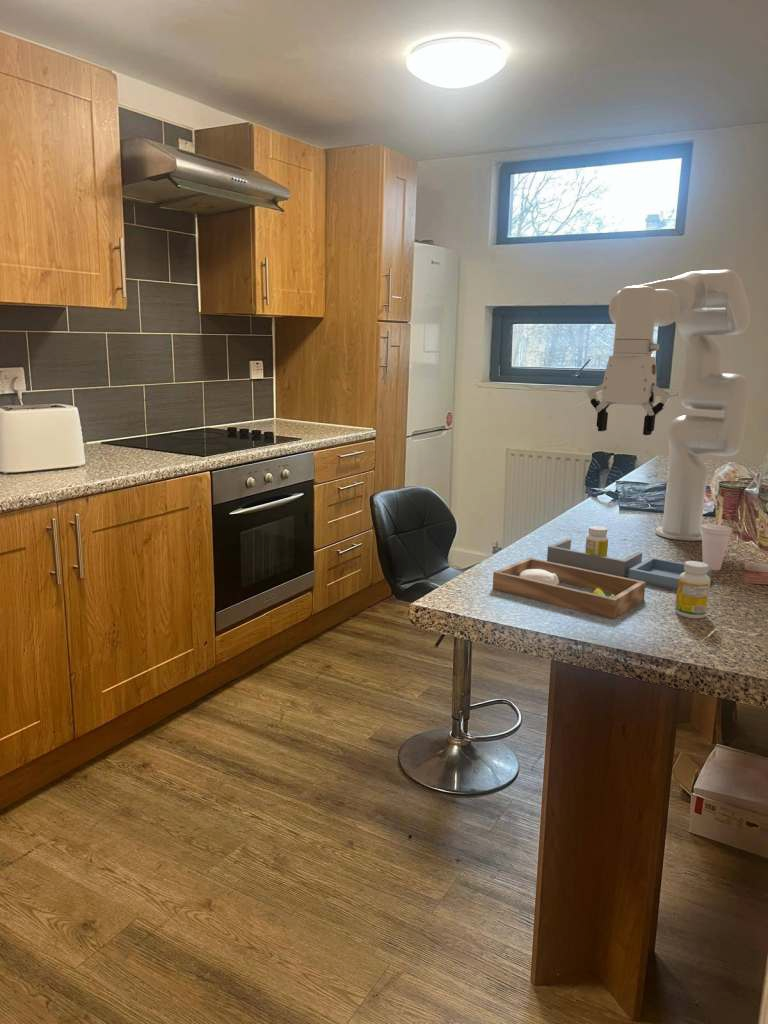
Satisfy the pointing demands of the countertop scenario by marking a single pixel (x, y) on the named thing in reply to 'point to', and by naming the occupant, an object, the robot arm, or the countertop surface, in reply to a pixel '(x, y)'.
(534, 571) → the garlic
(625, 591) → the wooden rectangular frame
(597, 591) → the plate of lemons
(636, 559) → the bay
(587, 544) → the supplement bottle
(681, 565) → the tray
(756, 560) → the countertop surface
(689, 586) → the supplement bottle
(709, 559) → the smoothie
